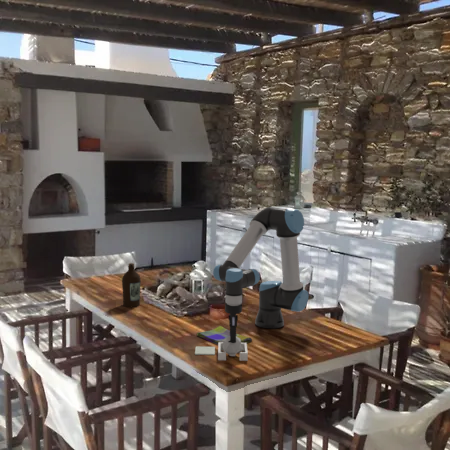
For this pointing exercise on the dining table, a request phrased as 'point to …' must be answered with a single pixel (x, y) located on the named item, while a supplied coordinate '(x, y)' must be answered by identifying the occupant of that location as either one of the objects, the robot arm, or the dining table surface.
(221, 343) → the pocket
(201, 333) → the dish towel
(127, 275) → the olive oil
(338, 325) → the dining table surface
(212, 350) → the mat
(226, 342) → the die
